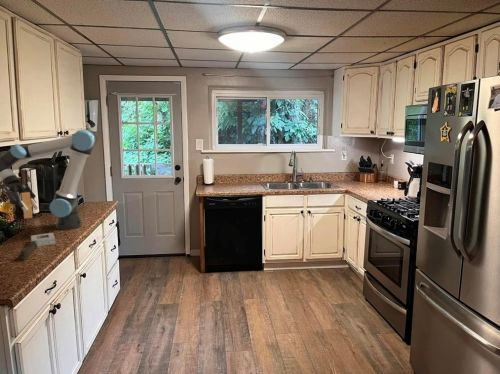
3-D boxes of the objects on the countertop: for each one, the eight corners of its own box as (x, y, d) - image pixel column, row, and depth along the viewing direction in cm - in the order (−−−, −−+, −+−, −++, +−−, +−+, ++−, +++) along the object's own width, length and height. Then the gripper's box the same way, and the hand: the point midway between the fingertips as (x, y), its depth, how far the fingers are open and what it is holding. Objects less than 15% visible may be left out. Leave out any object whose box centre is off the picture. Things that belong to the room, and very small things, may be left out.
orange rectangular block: (32, 216, 215) (29, 192, 213) (32, 217, 212) (29, 193, 209) (24, 217, 213) (21, 192, 210) (24, 218, 210) (21, 194, 207)
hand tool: (29, 249, 200) (28, 240, 199) (37, 248, 201) (36, 240, 200) (16, 262, 182) (15, 253, 181) (25, 261, 183) (24, 252, 182)
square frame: (53, 238, 218) (52, 232, 217) (55, 243, 209) (54, 237, 208) (31, 241, 212) (30, 235, 211) (32, 247, 203) (32, 240, 202)
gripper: (21, 180, 223) (43, 210, 220) (-10, 185, 207) (13, 217, 203) (27, 172, 220) (49, 202, 217) (-5, 176, 204) (18, 209, 200)
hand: (31, 209), depth 210 cm, fingers closed on orange rectangular block, 5 cm apart
